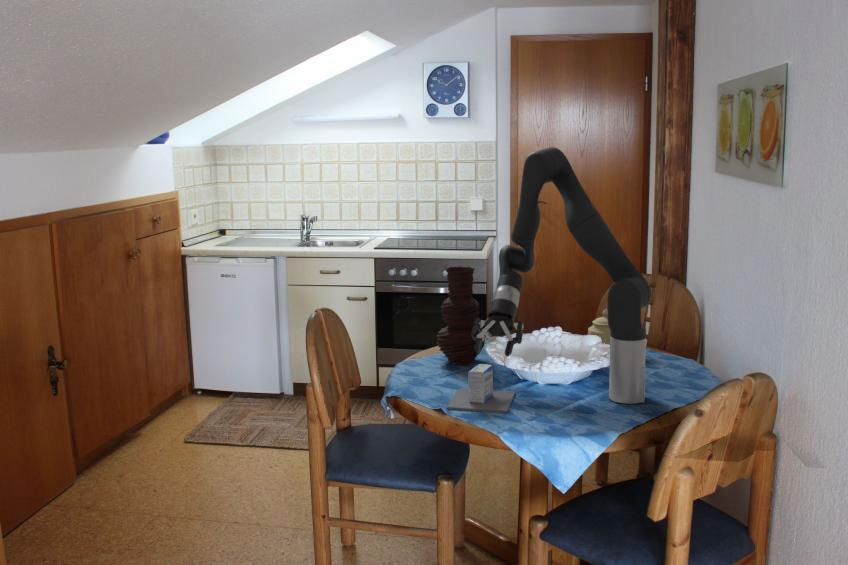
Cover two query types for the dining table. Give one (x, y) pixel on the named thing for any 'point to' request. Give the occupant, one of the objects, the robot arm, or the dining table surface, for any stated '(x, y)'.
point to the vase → (459, 317)
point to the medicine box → (480, 383)
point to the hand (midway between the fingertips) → (492, 353)
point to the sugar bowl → (601, 328)
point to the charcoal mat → (494, 404)
